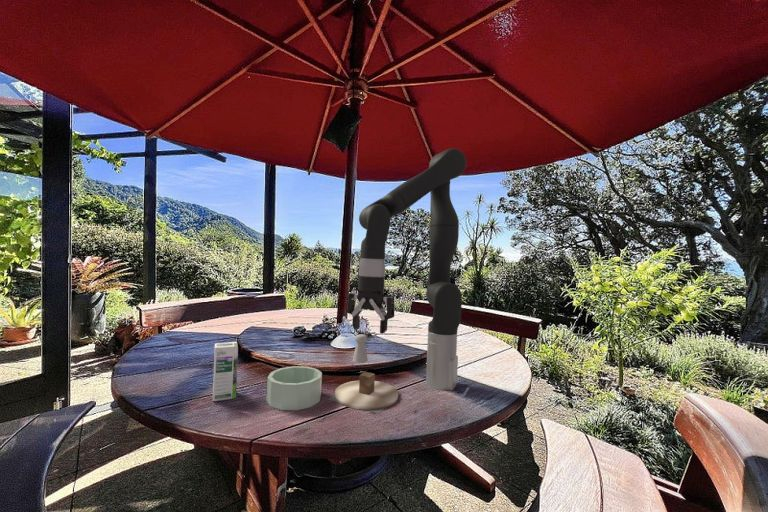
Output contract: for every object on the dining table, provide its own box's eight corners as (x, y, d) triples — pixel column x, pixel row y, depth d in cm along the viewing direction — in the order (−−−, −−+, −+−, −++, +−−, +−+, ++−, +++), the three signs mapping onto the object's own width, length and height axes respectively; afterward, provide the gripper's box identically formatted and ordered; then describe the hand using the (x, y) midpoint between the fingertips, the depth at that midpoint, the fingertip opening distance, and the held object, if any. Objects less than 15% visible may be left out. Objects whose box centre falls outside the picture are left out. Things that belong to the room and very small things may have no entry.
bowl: (330, 396, 94) (331, 372, 94) (297, 417, 82) (298, 388, 82) (292, 386, 100) (293, 363, 100) (255, 404, 88) (256, 377, 88)
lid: (407, 391, 99) (408, 371, 99) (380, 416, 83) (381, 392, 83) (355, 379, 107) (356, 360, 107) (321, 399, 91) (322, 377, 91)
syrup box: (212, 402, 88) (214, 347, 88) (212, 393, 93) (214, 342, 93) (236, 398, 90) (238, 345, 90) (234, 390, 95) (237, 340, 96)
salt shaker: (365, 375, 112) (367, 337, 112) (349, 374, 113) (351, 336, 113) (369, 370, 118) (371, 333, 118) (354, 368, 119) (355, 332, 119)
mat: (402, 393, 98) (402, 391, 98) (378, 415, 84) (378, 413, 84) (356, 382, 105) (356, 380, 105) (326, 401, 91) (327, 399, 91)
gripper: (399, 275, 95) (397, 332, 95) (357, 272, 101) (354, 325, 101) (388, 276, 88) (385, 337, 88) (343, 273, 95) (341, 330, 95)
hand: (369, 331), depth 95 cm, fingers open, 8 cm apart
